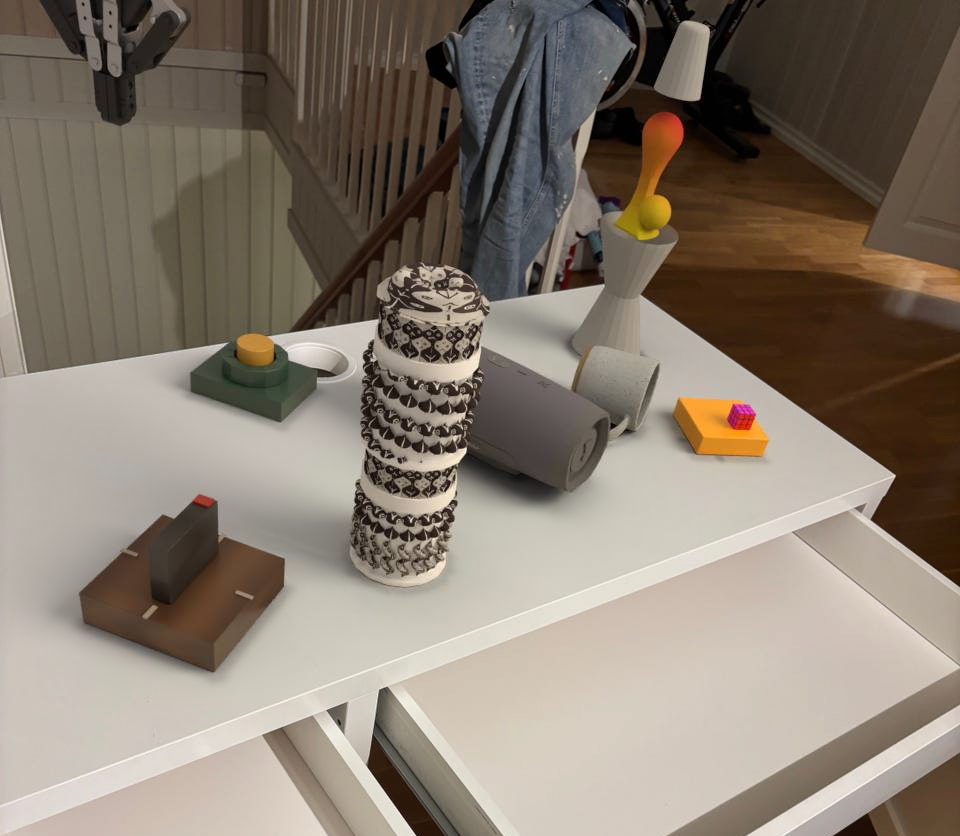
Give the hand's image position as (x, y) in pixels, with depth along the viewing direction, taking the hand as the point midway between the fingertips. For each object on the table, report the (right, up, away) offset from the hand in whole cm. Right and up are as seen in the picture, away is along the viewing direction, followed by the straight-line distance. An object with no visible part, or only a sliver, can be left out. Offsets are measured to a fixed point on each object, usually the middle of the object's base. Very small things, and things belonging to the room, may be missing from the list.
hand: (117, 121), depth 79 cm
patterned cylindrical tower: (+22, -35, +6) cm, 42 cm away
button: (+7, -14, +18) cm, 24 cm away
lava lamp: (+45, -7, +41) cm, 61 cm away
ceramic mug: (+43, -19, +28) cm, 55 cm away
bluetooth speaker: (+30, -23, +20) cm, 43 cm away
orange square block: (+56, -20, +30) cm, 67 cm away
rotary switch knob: (+7, -37, -5) cm, 38 cm away
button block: (+6, -17, +21) cm, 27 cm away
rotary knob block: (+7, -40, -3) cm, 40 cm away
